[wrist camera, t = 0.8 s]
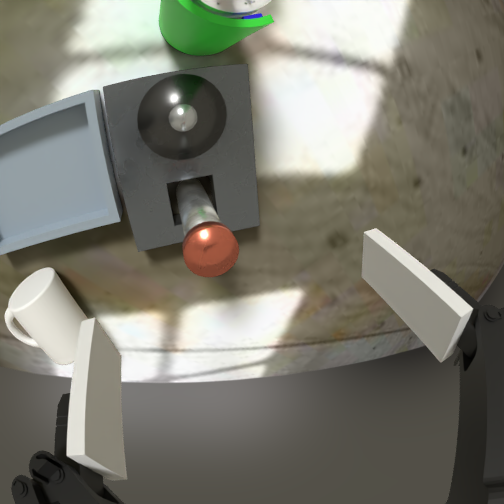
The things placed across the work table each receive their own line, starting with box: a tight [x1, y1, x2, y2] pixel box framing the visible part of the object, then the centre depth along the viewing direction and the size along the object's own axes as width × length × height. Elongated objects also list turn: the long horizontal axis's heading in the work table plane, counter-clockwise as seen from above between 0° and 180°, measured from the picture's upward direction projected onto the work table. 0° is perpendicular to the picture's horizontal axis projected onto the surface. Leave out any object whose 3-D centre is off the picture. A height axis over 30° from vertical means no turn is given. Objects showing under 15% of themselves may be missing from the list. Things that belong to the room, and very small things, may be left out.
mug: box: [5, 267, 88, 365], centre depth 31 cm, size 12×10×8 cm
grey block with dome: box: [103, 64, 260, 252], centre depth 28 cm, size 14×18×7 cm
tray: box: [0, 90, 123, 255], centre depth 25 cm, size 18×14×3 cm
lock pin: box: [176, 178, 239, 277], centre depth 27 cm, size 4×4×14 cm
